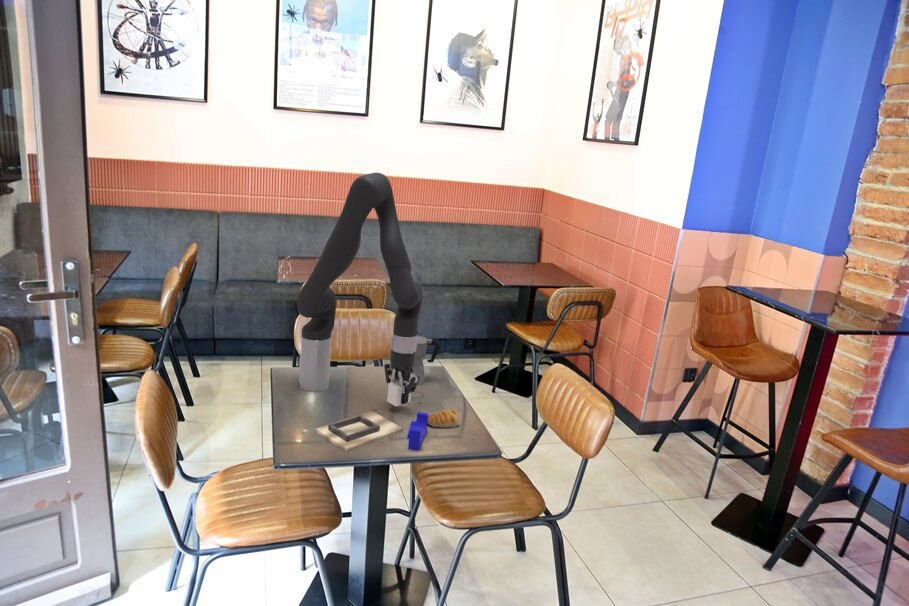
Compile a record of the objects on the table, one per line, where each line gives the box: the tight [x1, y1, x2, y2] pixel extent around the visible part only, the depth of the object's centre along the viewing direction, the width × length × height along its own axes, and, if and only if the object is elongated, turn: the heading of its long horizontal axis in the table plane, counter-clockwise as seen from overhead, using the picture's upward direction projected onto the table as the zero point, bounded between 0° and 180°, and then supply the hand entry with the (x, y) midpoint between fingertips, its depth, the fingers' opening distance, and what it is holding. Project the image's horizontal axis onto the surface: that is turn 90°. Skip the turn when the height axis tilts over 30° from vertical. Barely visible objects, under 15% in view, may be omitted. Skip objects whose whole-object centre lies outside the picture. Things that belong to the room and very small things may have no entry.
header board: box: [314, 410, 404, 452], centre depth 175 cm, size 14×20×2 cm
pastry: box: [427, 409, 460, 429], centre depth 184 cm, size 9×7×4 cm
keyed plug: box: [386, 381, 412, 407], centre depth 190 cm, size 4×7×6 cm, turn 137°
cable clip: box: [406, 411, 429, 451], centre depth 173 cm, size 12×4×6 cm, turn 173°
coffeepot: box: [413, 330, 441, 386], centre depth 213 cm, size 15×9×18 cm, turn 87°
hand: (399, 400), depth 191 cm, fingers closed on keyed plug, 4 cm apart
